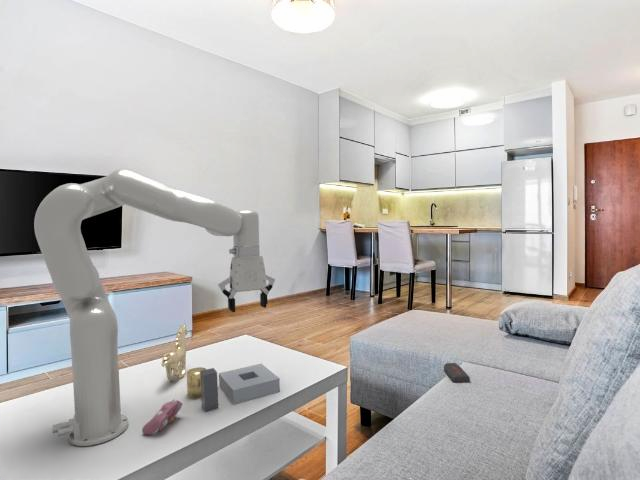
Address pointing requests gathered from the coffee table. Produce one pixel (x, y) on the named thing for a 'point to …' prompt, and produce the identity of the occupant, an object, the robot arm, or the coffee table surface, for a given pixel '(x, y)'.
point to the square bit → (209, 389)
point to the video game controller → (162, 417)
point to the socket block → (248, 383)
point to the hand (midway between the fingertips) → (248, 309)
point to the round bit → (194, 383)
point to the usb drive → (456, 373)
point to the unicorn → (176, 355)
